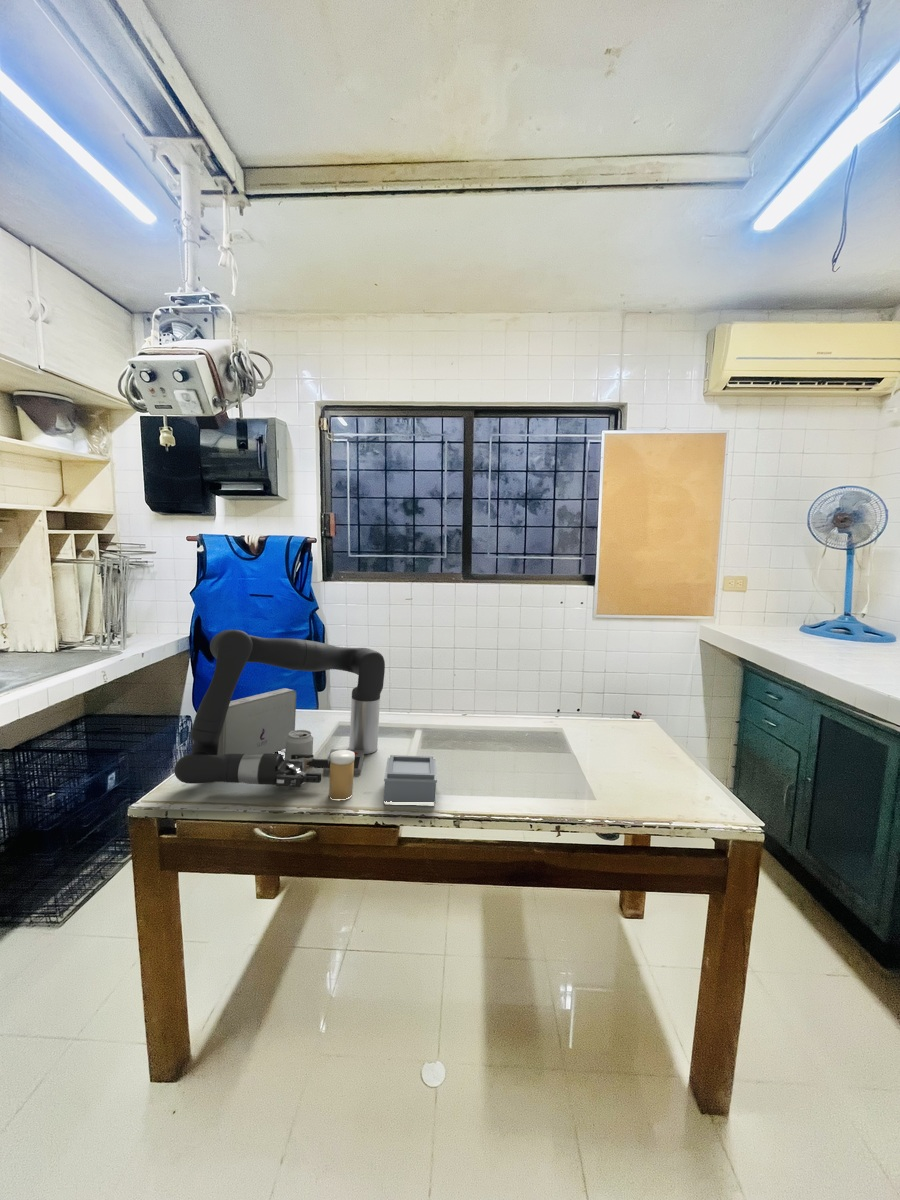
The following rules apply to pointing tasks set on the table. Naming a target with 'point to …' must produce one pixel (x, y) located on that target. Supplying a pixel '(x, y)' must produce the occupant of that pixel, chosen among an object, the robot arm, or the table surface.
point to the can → (299, 745)
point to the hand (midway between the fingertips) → (324, 770)
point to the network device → (258, 723)
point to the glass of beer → (341, 774)
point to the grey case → (410, 779)
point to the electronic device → (357, 762)
